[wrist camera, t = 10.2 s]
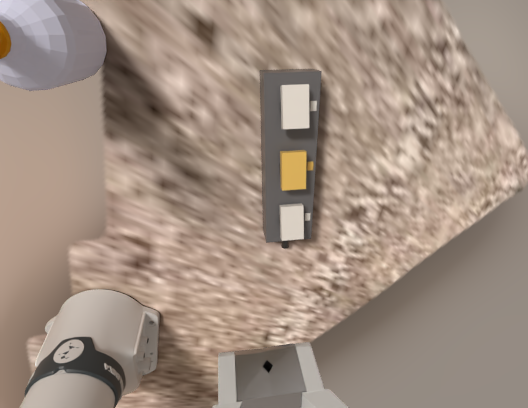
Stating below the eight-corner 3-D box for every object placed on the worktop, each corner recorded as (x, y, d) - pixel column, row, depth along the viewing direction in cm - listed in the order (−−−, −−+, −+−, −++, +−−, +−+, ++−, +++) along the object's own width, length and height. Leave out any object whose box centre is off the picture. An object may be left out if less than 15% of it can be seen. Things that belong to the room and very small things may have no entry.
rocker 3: (301, 236, 47) (303, 238, 46) (280, 237, 47) (281, 240, 45) (301, 203, 46) (303, 205, 44) (279, 205, 45) (280, 207, 44)
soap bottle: (87, 95, 40) (-68, 159, 18) (8, 45, 36) (-300, 51, 15) (121, 30, 37) (-12, 15, 15) (40, -30, 34) (-279, -158, 12)
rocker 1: (306, 127, 40) (309, 128, 38) (281, 129, 39) (283, 129, 38) (306, 85, 38) (309, 84, 37) (280, 86, 38) (282, 85, 37)
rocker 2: (303, 186, 43) (305, 188, 42) (280, 187, 43) (282, 190, 42) (304, 149, 42) (306, 151, 41) (280, 151, 41) (281, 153, 40)
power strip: (304, 240, 54) (311, 256, 50) (263, 244, 53) (267, 260, 49) (312, 68, 42) (322, 71, 38) (259, 70, 41) (264, 73, 37)
